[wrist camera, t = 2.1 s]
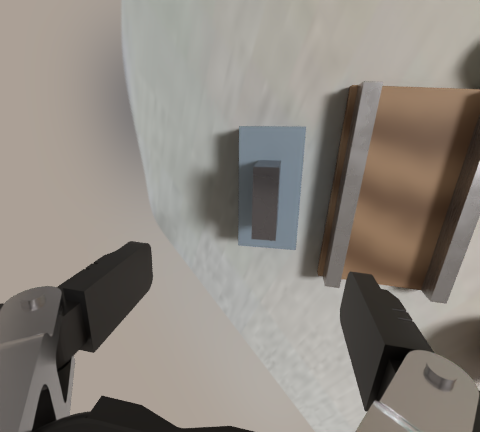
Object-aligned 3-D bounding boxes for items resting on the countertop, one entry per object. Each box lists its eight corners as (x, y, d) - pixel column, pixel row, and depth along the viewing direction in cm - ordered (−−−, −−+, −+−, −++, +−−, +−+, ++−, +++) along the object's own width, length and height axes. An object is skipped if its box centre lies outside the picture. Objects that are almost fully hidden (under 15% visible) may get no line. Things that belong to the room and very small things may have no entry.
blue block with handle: (245, 127, 27) (227, 124, 19) (303, 127, 26) (310, 125, 18) (244, 231, 31) (228, 268, 23) (294, 235, 30) (297, 275, 22)
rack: (349, 86, 24) (357, 81, 22) (505, 92, 23) (535, 86, 20) (317, 271, 31) (320, 285, 28) (435, 287, 29) (451, 304, 26)
